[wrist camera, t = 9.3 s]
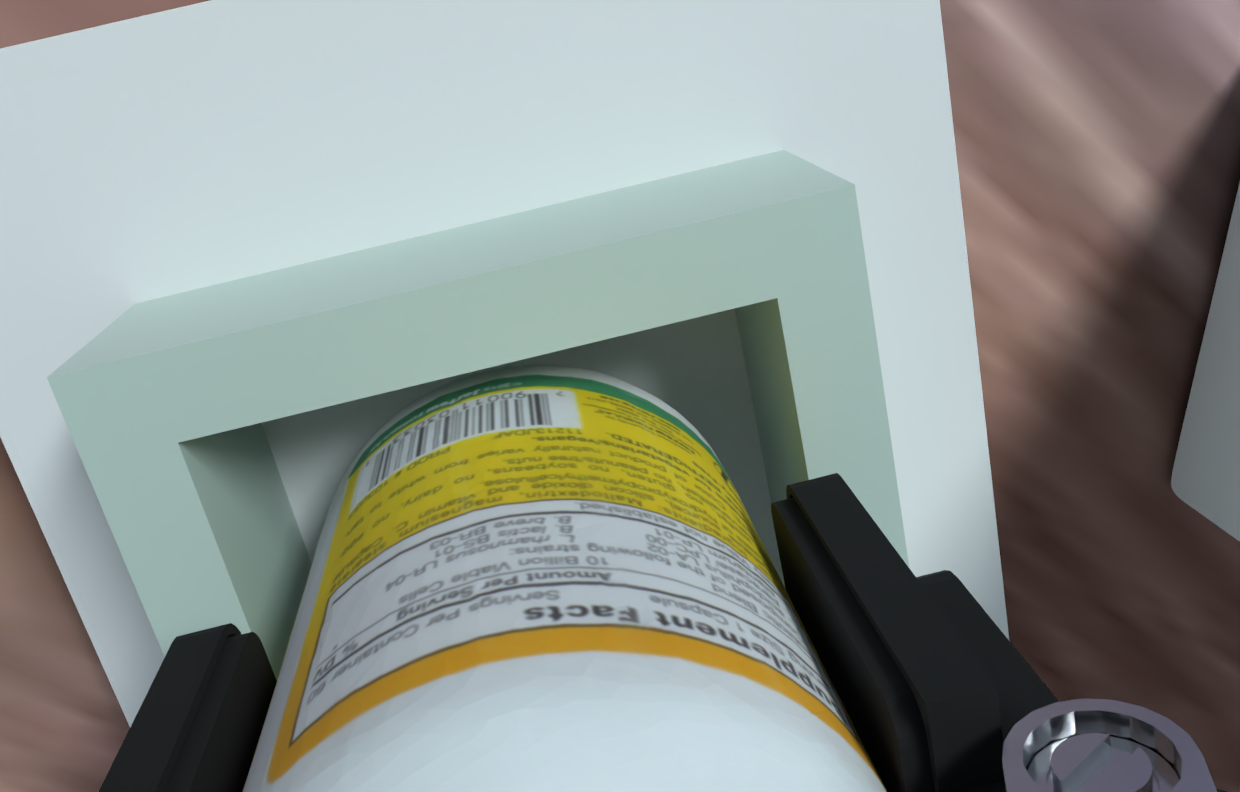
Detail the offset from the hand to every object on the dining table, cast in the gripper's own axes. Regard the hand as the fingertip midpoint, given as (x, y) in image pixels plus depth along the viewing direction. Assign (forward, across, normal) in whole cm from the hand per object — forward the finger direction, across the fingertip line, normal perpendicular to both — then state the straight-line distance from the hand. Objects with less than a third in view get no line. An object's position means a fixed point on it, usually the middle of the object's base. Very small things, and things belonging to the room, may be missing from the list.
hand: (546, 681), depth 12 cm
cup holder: (+5, 0, 0) cm, 5 cm away
